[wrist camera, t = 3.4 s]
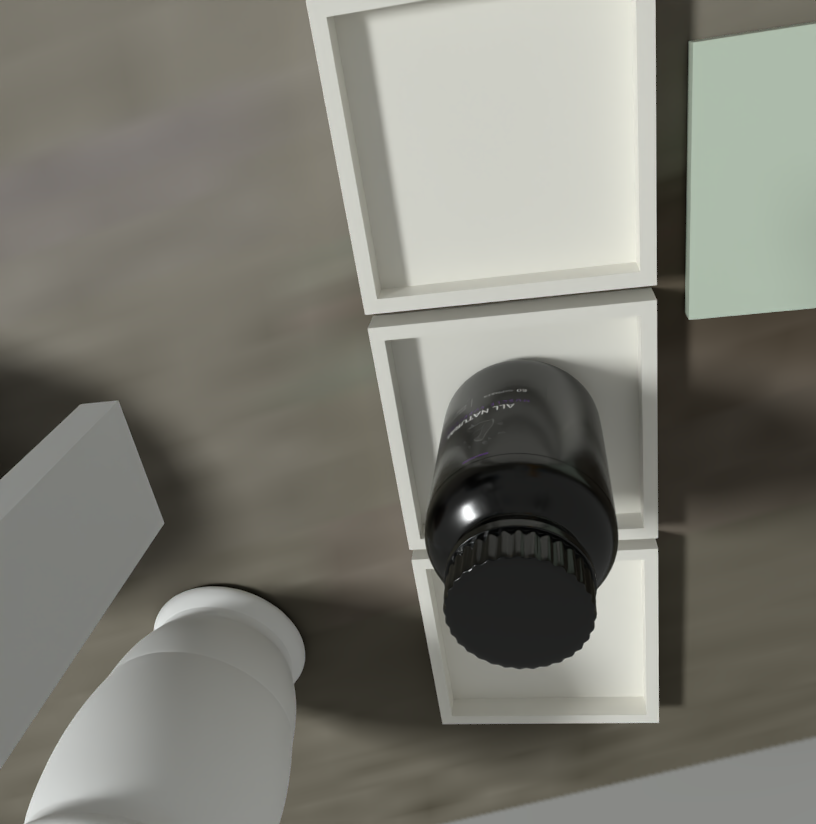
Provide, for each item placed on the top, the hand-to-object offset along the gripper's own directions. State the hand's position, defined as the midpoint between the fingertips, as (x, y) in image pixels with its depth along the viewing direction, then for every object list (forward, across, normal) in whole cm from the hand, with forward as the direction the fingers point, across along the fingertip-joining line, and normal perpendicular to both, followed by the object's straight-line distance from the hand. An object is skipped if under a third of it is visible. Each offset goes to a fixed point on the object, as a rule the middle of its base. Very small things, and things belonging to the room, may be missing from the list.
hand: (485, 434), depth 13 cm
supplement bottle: (+19, 0, -10) cm, 22 cm away
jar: (+19, -18, -22) cm, 34 cm away
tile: (+19, +12, -1) cm, 22 cm away
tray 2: (+19, -1, -22) cm, 29 cm away
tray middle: (+19, 0, -10) cm, 22 cm away
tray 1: (+19, 0, +2) cm, 19 cm away
